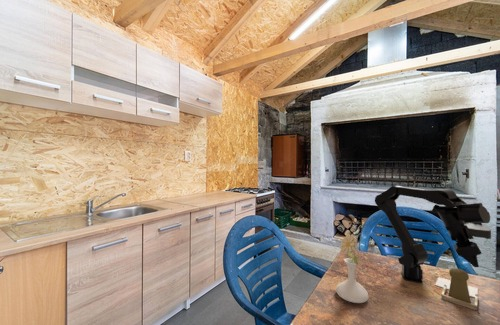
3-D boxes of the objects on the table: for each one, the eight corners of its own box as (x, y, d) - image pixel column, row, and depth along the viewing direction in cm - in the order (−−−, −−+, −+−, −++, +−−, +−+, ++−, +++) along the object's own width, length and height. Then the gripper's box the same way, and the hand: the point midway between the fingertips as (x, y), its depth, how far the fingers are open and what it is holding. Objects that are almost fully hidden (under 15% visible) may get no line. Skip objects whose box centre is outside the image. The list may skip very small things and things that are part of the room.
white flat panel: (477, 298, 79) (477, 298, 79) (435, 285, 88) (435, 284, 88) (477, 289, 85) (477, 288, 85) (438, 277, 94) (438, 276, 94)
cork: (473, 306, 75) (472, 275, 75) (450, 301, 78) (450, 271, 78) (467, 297, 80) (467, 268, 80) (446, 292, 83) (445, 264, 83)
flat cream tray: (477, 310, 73) (477, 305, 73) (441, 298, 80) (441, 294, 80) (477, 299, 79) (477, 294, 79) (444, 288, 86) (444, 284, 86)
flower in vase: (334, 286, 89) (333, 226, 89) (364, 290, 85) (363, 228, 86) (338, 306, 76) (337, 237, 76) (374, 312, 73) (372, 239, 73)
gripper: (490, 228, 68) (515, 273, 67) (474, 207, 83) (494, 243, 82) (447, 234, 75) (468, 275, 74) (439, 213, 90) (457, 247, 89)
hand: (473, 259), depth 80 cm, fingers open, 9 cm apart
